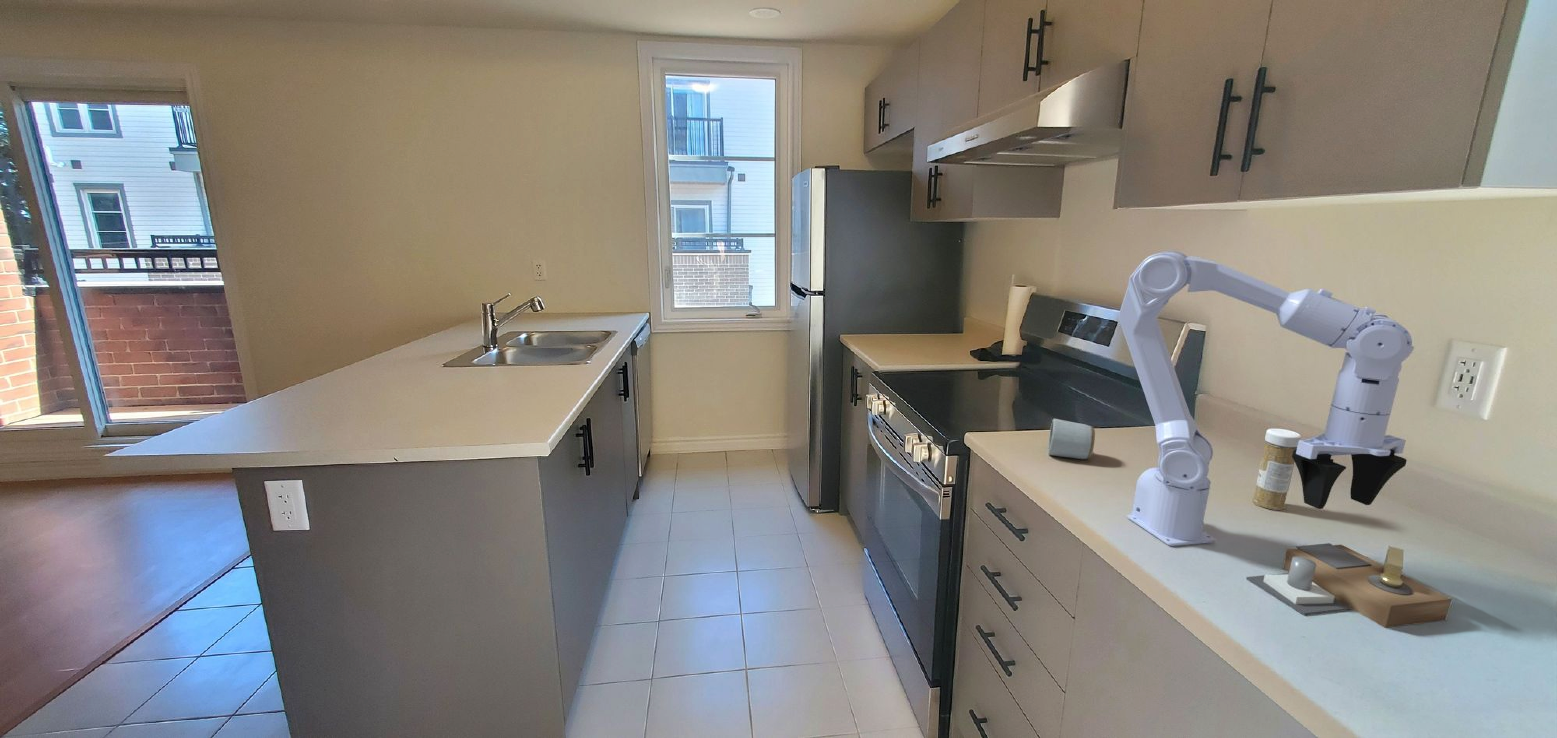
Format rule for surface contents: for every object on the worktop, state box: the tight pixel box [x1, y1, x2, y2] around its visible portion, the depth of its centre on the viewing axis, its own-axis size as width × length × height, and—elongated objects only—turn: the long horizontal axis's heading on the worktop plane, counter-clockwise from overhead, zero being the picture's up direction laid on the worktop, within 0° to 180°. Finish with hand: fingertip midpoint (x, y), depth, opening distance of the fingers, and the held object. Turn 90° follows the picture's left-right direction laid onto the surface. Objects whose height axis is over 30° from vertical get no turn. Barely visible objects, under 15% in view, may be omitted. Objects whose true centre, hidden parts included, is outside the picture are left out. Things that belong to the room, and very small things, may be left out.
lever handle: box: [1379, 545, 1404, 588], centre depth 78 cm, size 7×2×3 cm, turn 134°
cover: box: [1263, 557, 1335, 604], centre depth 79 cm, size 5×5×4 cm
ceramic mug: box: [1047, 418, 1096, 460], centre depth 128 cm, size 11×8×8 cm
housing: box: [1282, 542, 1453, 628], centre depth 80 cm, size 13×9×3 cm
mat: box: [1245, 572, 1352, 616], centre depth 80 cm, size 8×7×1 cm
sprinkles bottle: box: [1252, 428, 1302, 511], centre depth 104 cm, size 5×5×13 cm
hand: (1336, 503), depth 83 cm, fingers open, 7 cm apart
